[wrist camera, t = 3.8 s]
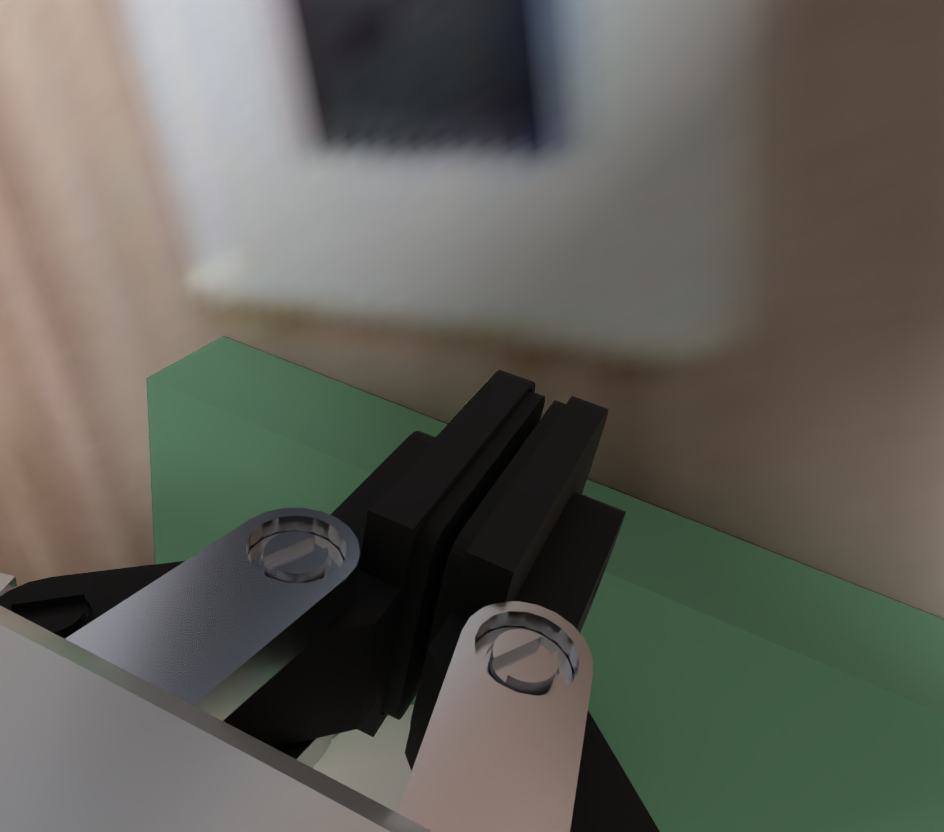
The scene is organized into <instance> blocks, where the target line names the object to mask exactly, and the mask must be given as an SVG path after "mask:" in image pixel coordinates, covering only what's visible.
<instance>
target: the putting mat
mask: <svg viewBox="0 0 944 832" xmlns="http://www.w3.org/2000/svg"><path fill="white" fill-rule="evenodd" d="M147 398H148V420H149V442H150V464H151V486H152V508H153V530H154V552H155V564H163V563H171V562H179V561H186V560H188V559H189V558H191V557H192V556H194V555H195V554H197V553H199V552H200V551H202V550H203V549H205V548H206V547H208V546H209V545H211V544H213V543H214V542H216V541H217V540H219V539H220V538H222V537H223V536H225V535H226V534H228V533H230V532H231V531H233V530H234V529H236V528H237V527H239V526H240V525H242V524H244V523H245V522H247V521H248V520H250V519H252V518H254V517H256V516H258V515H260V514H262V513H264V512H267V511H272V510H277V509H281V508H307V509H312V510H317V511H322V512H324V513H327V514H329V515H330V514H331V513H332V512H333V511H334V510H335V509H336V508H337V507H338V506H339V505H340V504H341V503H342V502H343V501H344V500H345V499H346V498H347V497H348V496H349V495H350V494H351V493H352V492H353V491H354V490H355V489H356V488H357V487H358V486H359V485H360V484H361V483H362V482H363V481H364V480H365V479H366V478H367V477H368V476H369V475H370V474H371V473H372V472H373V471H374V470H375V469H376V468H377V467H378V466H379V465H380V464H381V463H382V462H383V461H384V460H385V459H386V458H387V457H388V456H389V455H390V454H391V453H392V452H393V451H394V450H395V449H396V448H397V447H398V446H399V445H400V444H401V443H402V442H403V441H404V440H405V439H406V438H407V437H408V436H409V435H411V434H412V433H413V432H415V431H422V432H424V433H427V434H429V435H432V436H434V437H436V436H437V435H438V434H439V433H440V432H441V431H442V430H443V429H444V428H445V427H446V426H447V425H448V424H446V423H443V422H440V421H438V420H435V419H433V418H430V417H428V416H425V415H423V414H420V413H418V412H415V411H412V410H410V409H407V408H405V407H402V406H400V405H397V404H395V403H392V402H390V401H387V400H385V399H382V398H379V397H377V396H374V395H372V394H369V393H367V392H364V391H362V390H359V389H357V388H354V387H351V386H349V385H346V384H344V383H341V382H339V381H336V380H334V379H331V378H329V377H326V376H324V375H321V374H318V373H316V372H313V371H311V370H308V369H306V368H303V367H301V366H298V365H296V364H293V363H290V362H288V361H285V360H283V359H280V358H278V357H275V356H273V355H270V354H268V353H265V352H262V351H260V350H257V349H255V348H252V347H250V346H247V345H245V344H242V343H240V342H237V341H235V340H232V339H229V338H227V337H224V336H223V337H221V338H220V339H218V340H216V341H214V342H212V343H210V344H209V345H207V346H205V347H203V348H201V349H199V350H198V351H196V352H194V353H192V354H190V355H189V356H187V357H185V358H183V359H181V360H179V361H178V362H176V363H174V364H172V365H170V366H168V367H167V368H165V369H163V370H161V371H159V372H157V373H156V374H154V375H152V376H150V377H148V378H147ZM582 495H585V496H587V497H590V498H593V499H595V500H598V501H600V502H603V503H605V504H608V505H610V506H613V507H616V508H618V509H621V510H623V511H626V514H625V517H624V520H623V523H622V526H621V528H620V531H619V534H618V537H617V539H616V542H615V545H614V548H613V550H612V553H611V556H610V559H609V561H608V564H607V567H606V569H605V572H604V574H603V577H602V580H601V582H600V585H599V588H598V590H597V593H596V595H595V598H594V600H593V603H592V605H591V608H590V610H589V613H588V615H587V618H586V620H585V622H584V625H583V627H582V630H581V632H580V634H581V635H582V636H583V638H584V639H585V640H586V642H587V645H588V647H589V649H590V652H591V654H592V658H593V678H592V685H591V692H590V699H589V705H588V711H589V712H590V714H591V716H592V717H593V719H594V721H595V723H596V724H597V726H598V728H599V729H600V731H601V733H602V734H603V736H604V738H605V739H606V741H607V743H608V745H609V746H610V748H611V750H612V751H613V753H614V755H615V756H616V758H617V760H618V761H619V763H620V765H621V767H622V768H623V770H624V772H625V773H626V775H627V777H628V778H629V780H630V782H631V783H632V785H633V787H634V789H635V790H636V792H637V794H638V795H639V797H640V799H641V800H642V802H643V804H644V805H645V807H646V809H647V811H648V812H649V814H650V816H651V817H652V819H653V821H654V822H655V824H656V826H657V827H658V829H659V831H660V832H944V619H941V618H939V617H936V616H934V615H931V614H929V613H926V612H924V611H921V610H918V609H916V608H913V607H911V606H908V605H906V604H903V603H901V602H898V601H896V600H893V599H890V598H888V597H885V596H883V595H880V594H878V593H875V592H873V591H870V590H868V589H865V588H862V587H860V586H857V585H855V584H852V583H850V582H847V581H845V580H842V579H840V578H837V577H835V576H832V575H829V574H827V573H824V572H822V571H819V570H817V569H814V568H812V567H809V566H807V565H804V564H801V563H799V562H796V561H794V560H791V559H789V558H786V557H784V556H781V555H779V554H776V553H774V552H771V551H768V550H766V549H763V548H761V547H758V546H756V545H753V544H751V543H748V542H746V541H743V540H740V539H738V538H735V537H733V536H730V535H728V534H725V533H723V532H720V531H718V530H715V529H712V528H710V527H707V526H705V525H702V524H700V523H697V522H695V521H692V520H690V519H687V518H685V517H682V516H679V515H677V514H674V513H672V512H669V511H667V510H664V509H662V508H659V507H657V506H654V505H651V504H649V503H646V502H644V501H641V500H639V499H636V498H634V497H631V496H629V495H626V494H624V493H621V492H618V491H616V490H613V489H611V488H608V487H606V486H603V485H601V484H598V483H596V482H593V481H590V480H588V479H587V480H586V484H585V487H584V490H583V493H582ZM415 699H416V696H415V698H414V699H413V701H412V703H411V704H410V705H414V703H415ZM339 734H340V733H338V734H333V736H332V739H333V738H335V737H336V736H337V735H339Z"/></svg>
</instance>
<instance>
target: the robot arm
mask: <svg viewBox="0 0 944 832" xmlns="http://www.w3.org/2000/svg"><path fill="white" fill-rule="evenodd" d="M534 392H535V382H532V381H529V380H526V379H524V378H521V377H518V376H515V375H512V374H510V373H507V372H504V371H501V370H499V371H497V372H496V373H495V374H494V375H493V376H492V377H491V378H490V379H489V381H488V382H487V383H486V384H485V385H484V386H483V387H482V388H481V389H480V390H479V391H478V392H477V393H476V395H475V396H474V397H473V398H472V399H471V400H470V401H469V402H468V403H467V404H466V405H465V406H464V407H463V408H462V410H461V411H460V412H459V413H458V414H457V415H456V416H455V417H454V418H453V419H452V420H451V421H450V422H449V423H448V425H447V426H446V427H445V428H444V429H443V430H442V431H441V432H440V433H439V434H438V435H437V436H436V437H434V436H432V435H429V434H427V433H424V432H422V431H415V432H413V433H412V434H411V435H409V436H408V437H407V438H406V439H405V440H404V441H403V442H402V443H401V444H400V445H399V446H398V447H397V448H396V449H395V450H394V451H393V452H392V453H391V454H390V455H389V456H388V457H387V458H386V459H385V460H384V461H383V462H382V463H381V464H380V465H379V466H378V467H377V468H376V469H375V470H374V471H373V472H372V473H371V474H370V475H369V476H368V477H367V478H366V479H365V480H364V481H363V482H362V483H361V484H360V485H359V486H358V487H357V488H356V489H355V490H354V491H353V492H352V493H351V494H350V495H349V496H348V497H347V498H346V499H345V500H344V501H343V502H342V503H341V504H340V505H339V506H338V507H337V508H336V509H335V510H334V511H333V512H332V513H331V514H330V515H329V514H327V513H324V512H322V511H317V510H312V509H307V508H281V509H277V510H272V511H267V512H264V513H262V514H260V515H258V516H256V517H254V518H252V519H250V520H248V521H247V522H245V523H244V524H242V525H240V526H239V527H237V528H236V529H234V530H233V531H231V532H230V533H228V534H226V535H225V536H223V537H222V538H220V539H219V540H217V541H216V542H214V543H213V544H211V545H209V546H208V547H206V548H205V549H203V550H202V551H200V552H199V553H197V554H195V555H194V556H192V557H191V558H189V559H188V560H186V561H179V562H171V563H163V564H155V565H147V566H139V567H130V568H122V569H114V570H106V571H98V572H90V573H82V574H74V575H65V576H57V577H50V578H46V579H41V580H37V581H32V582H28V583H26V584H24V585H21V586H19V587H17V584H16V578H15V576H12V575H8V574H4V573H0V832H660V831H659V829H658V827H657V826H656V824H655V822H654V821H653V819H652V817H651V816H650V814H649V812H648V811H647V809H646V807H645V805H644V804H643V802H642V800H641V799H640V797H639V795H638V794H637V792H636V790H635V789H634V787H633V785H632V783H631V782H630V780H629V778H628V777H627V775H626V773H625V772H624V770H623V768H622V767H621V765H620V763H619V761H618V760H617V758H616V756H615V755H614V753H613V751H612V750H611V748H610V746H609V745H608V743H607V741H606V739H605V738H604V736H603V734H602V733H601V731H600V729H599V728H598V726H597V724H596V723H595V721H594V719H593V717H592V716H591V714H590V712H589V711H588V705H589V699H590V692H591V685H592V678H593V658H592V654H591V652H590V649H589V647H588V645H587V642H586V640H585V639H584V638H583V636H582V635H581V634H580V632H581V630H582V627H583V625H584V622H585V620H586V618H587V615H588V613H589V610H590V608H591V605H592V603H593V600H594V598H595V595H596V593H597V590H598V588H599V585H600V582H601V580H602V577H603V574H604V572H605V569H606V567H607V564H608V561H609V559H610V556H611V553H612V550H613V548H614V545H615V542H616V539H617V537H618V534H619V531H620V528H621V526H622V523H623V520H624V517H625V514H626V511H623V510H621V509H618V508H616V507H613V506H610V505H608V504H605V503H603V502H600V501H598V500H595V499H593V498H590V497H587V496H585V495H582V493H583V490H584V487H585V484H586V480H587V477H588V474H589V471H590V468H591V465H592V462H593V459H594V456H595V453H596V450H597V446H598V443H599V440H600V437H601V434H602V431H603V428H604V425H605V422H606V418H607V414H608V409H606V408H604V407H601V406H598V405H595V404H593V403H590V402H587V401H584V400H582V399H579V398H576V397H573V396H572V397H571V398H570V399H569V401H568V402H567V404H564V403H561V402H558V401H554V402H553V403H552V405H551V406H550V407H549V409H548V410H547V411H546V413H545V414H544V416H543V417H542V418H541V414H542V411H543V407H544V403H545V396H542V395H539V394H536V393H534ZM540 418H541V420H540ZM415 696H416V699H415V703H414V708H413V712H412V717H411V722H410V725H411V726H410V731H409V735H408V740H407V744H406V749H405V755H406V758H407V761H408V763H409V766H410V769H411V775H410V777H409V780H408V783H407V786H406V789H405V792H404V794H403V797H402V800H401V803H400V806H399V808H398V811H397V812H395V811H393V810H391V809H389V808H387V807H385V806H383V805H382V804H380V803H378V802H376V801H374V800H372V799H370V798H368V797H366V796H365V795H363V794H361V793H359V792H357V791H355V790H353V789H351V788H349V787H347V786H346V785H344V784H342V783H340V782H338V781H336V780H334V779H332V778H330V777H328V776H327V775H325V774H323V773H321V772H319V771H317V770H315V769H313V767H314V766H315V765H316V763H317V762H318V761H319V760H320V759H321V758H322V757H323V755H324V754H325V752H326V751H327V749H328V748H329V746H330V744H331V740H332V736H333V734H338V733H342V732H347V731H351V730H355V729H358V730H360V731H362V732H364V733H366V734H368V735H369V736H371V737H374V736H375V734H376V732H377V731H378V729H379V728H380V726H381V725H382V723H383V721H384V720H385V718H386V717H387V715H389V716H392V717H394V718H396V719H398V720H400V719H401V718H402V717H403V715H404V714H405V712H406V711H407V709H408V708H409V706H410V704H411V703H412V701H413V699H414V698H415Z"/></svg>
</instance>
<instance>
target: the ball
mask: <svg viewBox="0 0 944 832" xmlns="http://www.w3.org/2000/svg"><path fill="white" fill-rule="evenodd" d="M413 708H414V705H410V706H409V708H408V709H407V711H406V712H405V714H404V715H403V717H402V718H401V719H400V720H398V719H396V718H394V717H392V716H389V715H387V717H386V718H385V720H384V721H383V723H382V725H381V726H380V728H379V729H378V731H377V732H376V734H375V736H374V737H371V736H369V735H368V734H366V733H364V732H362V731H360V730H358V729H355V730H351V731H347V732H342V733H340V734H339V735H337V736H336V737H335V738H333V739H332V740H331V744H330V746H329V748H328V749H327V751H326V752H325V754H324V755H323V757H322V758H321V759H320V760H319V761H318V762H317V763H316V765H315V766H314V767H313V769H315V770H317V771H319V772H321V773H323V774H325V775H327V776H328V777H330V778H332V779H334V780H336V781H338V782H340V783H342V784H344V785H346V786H347V787H349V788H351V789H353V790H355V791H357V792H359V793H361V794H363V795H365V796H366V797H368V798H370V799H372V800H374V801H376V802H378V803H380V804H382V805H383V806H385V807H387V808H389V809H391V810H393V811H395V812H397V811H398V808H399V806H400V803H401V800H402V797H403V794H404V792H405V789H406V786H407V783H408V780H409V777H410V775H411V769H410V766H409V763H408V761H407V758H406V755H405V749H406V744H407V740H408V735H409V731H410V726H411V725H410V722H411V717H412V712H413Z"/></svg>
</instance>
